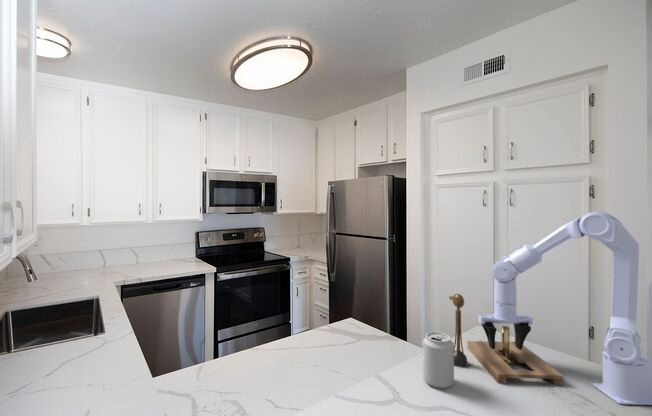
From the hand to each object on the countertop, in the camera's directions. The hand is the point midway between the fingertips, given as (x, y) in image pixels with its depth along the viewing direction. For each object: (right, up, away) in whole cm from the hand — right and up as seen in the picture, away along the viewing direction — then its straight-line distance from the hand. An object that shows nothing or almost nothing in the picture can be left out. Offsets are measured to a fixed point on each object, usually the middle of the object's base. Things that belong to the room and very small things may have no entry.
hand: (505, 347), depth 93 cm
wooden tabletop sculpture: (-14, -4, -1) cm, 15 cm away
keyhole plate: (0, -4, -3) cm, 4 cm away
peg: (0, -4, 0) cm, 4 cm away
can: (-24, -4, -11) cm, 26 cm away
